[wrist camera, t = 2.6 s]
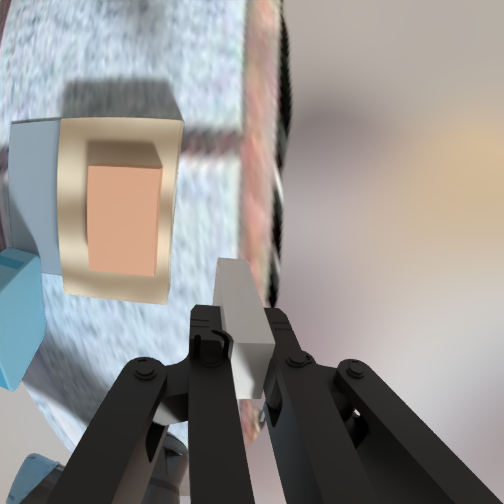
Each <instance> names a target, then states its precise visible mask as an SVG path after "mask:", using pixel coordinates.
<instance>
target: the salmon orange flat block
mask: <svg viewBox="0 0 504 504" xmlns="http://www.w3.org/2000/svg"><path fill="white" fill-rule="evenodd" d="M162 176H163V167H158V166H143V165H125V164H99V163H96V164H93V165H90V166H88V186H87V234H88V256H89V270H93V271H103V272H112V273H122V274H133V275H143V276H154V275H155V272H156V268H157V252H158V230H159V213H160V199H161V187H162Z"/></svg>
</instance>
